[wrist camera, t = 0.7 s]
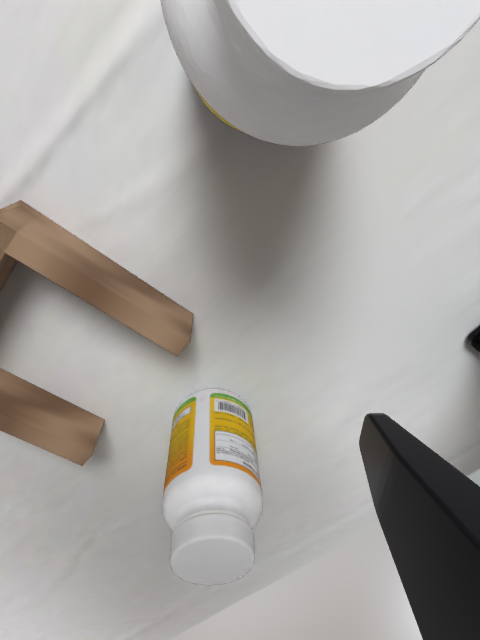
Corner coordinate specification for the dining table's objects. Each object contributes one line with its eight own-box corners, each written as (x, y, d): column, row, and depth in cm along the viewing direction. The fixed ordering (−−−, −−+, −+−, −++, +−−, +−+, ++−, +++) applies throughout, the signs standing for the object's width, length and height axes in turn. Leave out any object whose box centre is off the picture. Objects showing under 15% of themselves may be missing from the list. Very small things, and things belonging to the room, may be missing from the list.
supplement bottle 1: (185, 450, 27) (172, 601, 19) (164, 394, 25) (138, 540, 16) (257, 437, 27) (277, 584, 19) (244, 379, 25) (260, 518, 16)
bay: (193, 314, 22) (190, 340, 19) (95, 430, 26) (82, 466, 23) (20, 200, 19) (-12, 214, 16) (-63, 354, 22) (-100, 386, 20)
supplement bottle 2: (337, 125, 18) (550, 142, 7) (198, 141, 18) (172, 187, 7) (341, -68, 15) (771, -686, 3) (171, -48, 15) (29, -599, 3)
